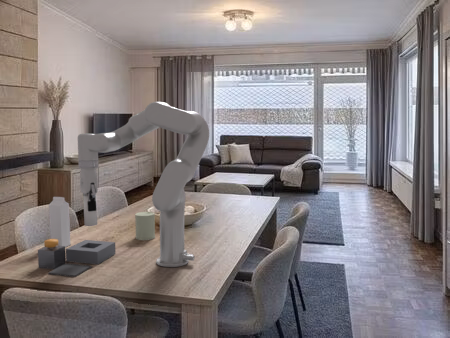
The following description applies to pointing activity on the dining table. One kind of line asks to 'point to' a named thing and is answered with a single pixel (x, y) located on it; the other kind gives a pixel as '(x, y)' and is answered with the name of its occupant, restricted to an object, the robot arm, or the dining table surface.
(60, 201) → the milk
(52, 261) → the dark grey cube
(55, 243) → the plunger
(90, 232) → the dining table surface
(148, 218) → the can
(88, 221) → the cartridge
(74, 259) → the block
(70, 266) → the mat
